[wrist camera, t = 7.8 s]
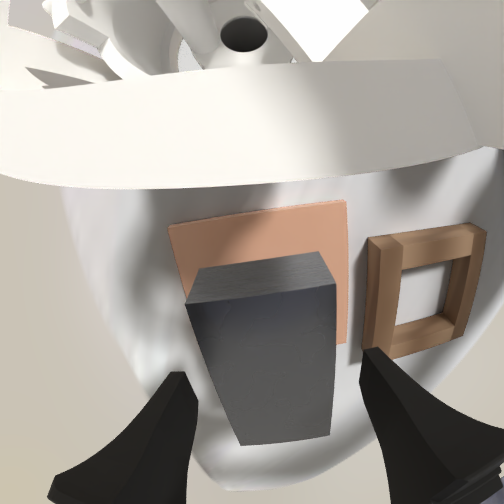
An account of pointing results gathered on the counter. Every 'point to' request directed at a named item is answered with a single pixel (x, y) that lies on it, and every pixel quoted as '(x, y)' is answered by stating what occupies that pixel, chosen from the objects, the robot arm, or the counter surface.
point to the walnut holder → (414, 255)
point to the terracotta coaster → (268, 243)
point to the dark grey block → (269, 344)
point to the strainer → (248, 90)
